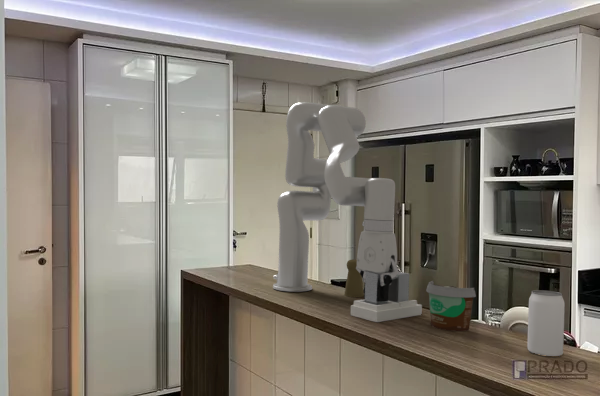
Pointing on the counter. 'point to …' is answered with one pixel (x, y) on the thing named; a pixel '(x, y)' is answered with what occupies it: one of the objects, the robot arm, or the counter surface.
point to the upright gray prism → (372, 288)
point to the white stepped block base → (389, 303)
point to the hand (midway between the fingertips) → (376, 298)
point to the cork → (353, 281)
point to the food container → (450, 307)
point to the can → (546, 323)
